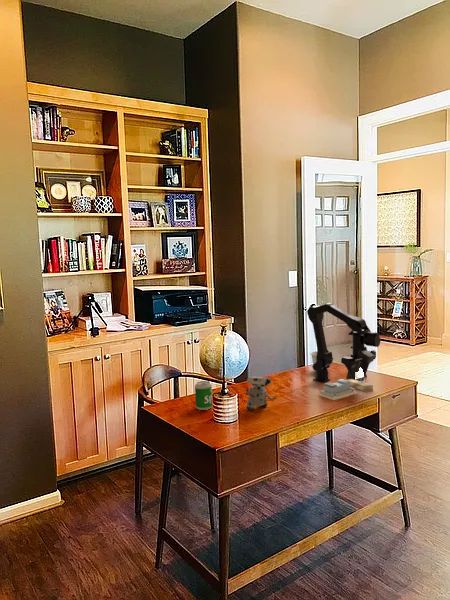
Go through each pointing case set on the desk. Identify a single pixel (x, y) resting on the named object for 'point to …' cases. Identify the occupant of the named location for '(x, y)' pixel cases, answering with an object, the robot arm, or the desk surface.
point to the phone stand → (356, 369)
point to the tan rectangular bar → (361, 385)
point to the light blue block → (337, 386)
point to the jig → (337, 394)
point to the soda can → (203, 395)
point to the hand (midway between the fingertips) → (358, 375)
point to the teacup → (314, 357)
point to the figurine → (257, 392)
